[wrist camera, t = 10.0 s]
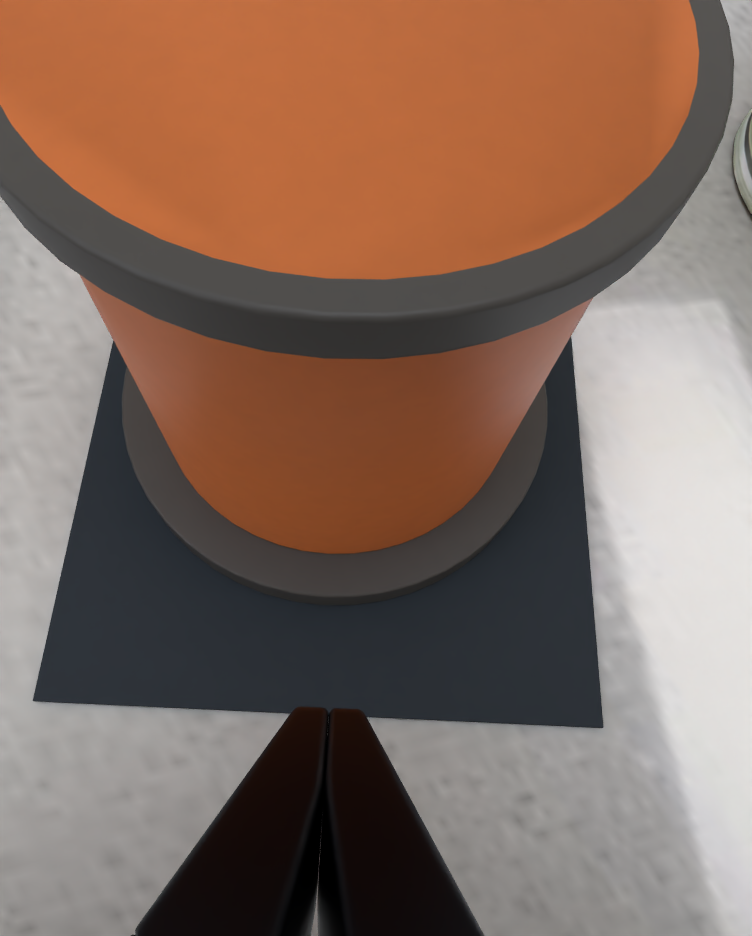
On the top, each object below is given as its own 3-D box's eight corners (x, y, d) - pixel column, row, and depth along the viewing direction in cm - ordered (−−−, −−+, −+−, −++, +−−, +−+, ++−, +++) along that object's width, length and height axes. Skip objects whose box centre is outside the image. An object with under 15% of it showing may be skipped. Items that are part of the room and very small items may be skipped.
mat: (601, 727, 16) (603, 727, 16) (34, 701, 15) (32, 701, 15) (565, 275, 21) (566, 273, 21) (136, 243, 20) (135, 240, 20)
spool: (447, 684, 16) (650, 564, 6) (45, 491, 17) (-359, 115, 7) (588, 330, 20) (851, -98, 10) (256, 194, 21) (191, -311, 11)
